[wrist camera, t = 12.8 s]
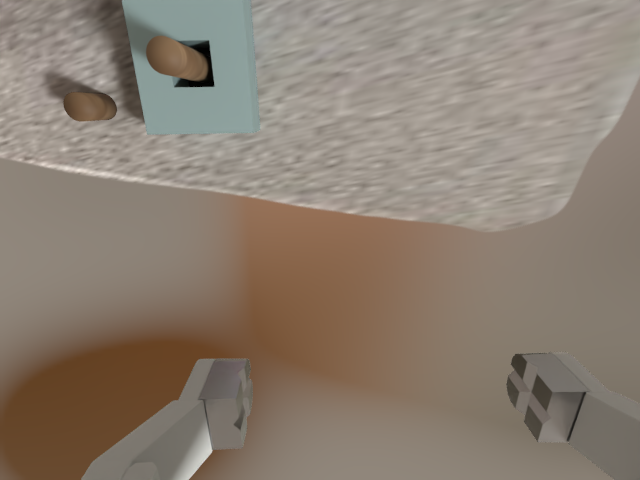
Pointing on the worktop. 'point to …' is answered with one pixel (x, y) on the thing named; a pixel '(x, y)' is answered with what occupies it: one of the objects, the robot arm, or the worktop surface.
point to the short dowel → (89, 106)
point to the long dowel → (178, 60)
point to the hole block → (227, 63)
